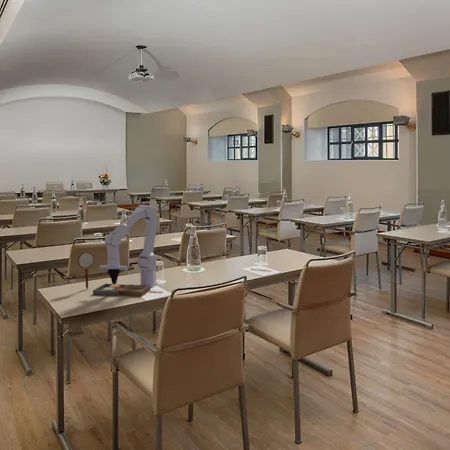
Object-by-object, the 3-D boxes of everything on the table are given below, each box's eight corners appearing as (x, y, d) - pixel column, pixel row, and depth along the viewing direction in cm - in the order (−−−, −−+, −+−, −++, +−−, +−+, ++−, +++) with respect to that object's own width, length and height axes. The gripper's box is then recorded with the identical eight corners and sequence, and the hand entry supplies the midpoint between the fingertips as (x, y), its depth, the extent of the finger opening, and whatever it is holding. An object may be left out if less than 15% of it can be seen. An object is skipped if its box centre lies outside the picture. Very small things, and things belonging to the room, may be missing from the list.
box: (105, 287, 263) (105, 283, 263) (127, 288, 260) (127, 284, 260) (93, 294, 249) (92, 290, 249) (116, 295, 247) (116, 291, 246)
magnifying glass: (94, 287, 263) (92, 251, 260) (95, 288, 262) (94, 251, 259) (78, 290, 258) (76, 253, 255) (79, 290, 257) (78, 253, 254)
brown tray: (127, 289, 259) (127, 284, 259) (150, 290, 257) (150, 285, 256) (117, 295, 248) (117, 290, 247) (141, 296, 245) (141, 291, 245)
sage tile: (114, 287, 253) (114, 291, 253) (106, 287, 254) (106, 290, 254) (110, 289, 249) (110, 293, 249) (102, 289, 250) (102, 293, 250)
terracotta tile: (120, 284, 259) (120, 288, 259) (112, 284, 260) (112, 288, 260) (117, 286, 255) (117, 290, 255) (109, 286, 255) (109, 290, 256)
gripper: (96, 258, 246) (97, 284, 248) (123, 259, 243) (124, 286, 245) (102, 255, 253) (104, 281, 255) (129, 256, 250) (130, 282, 252)
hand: (114, 283), depth 251 cm, fingers closed
